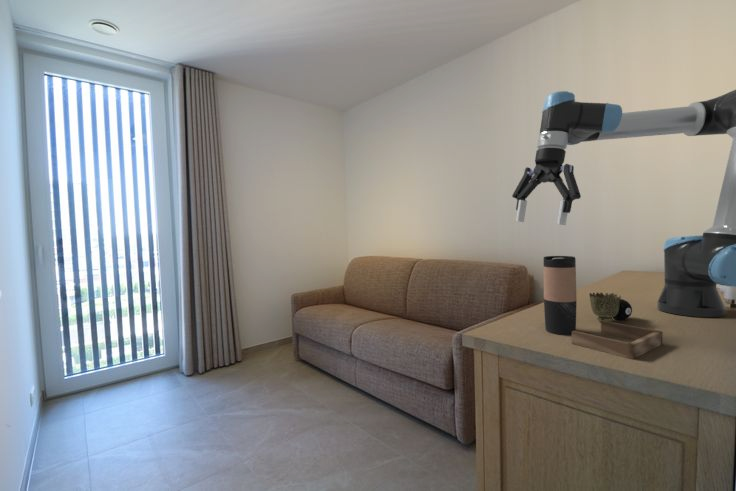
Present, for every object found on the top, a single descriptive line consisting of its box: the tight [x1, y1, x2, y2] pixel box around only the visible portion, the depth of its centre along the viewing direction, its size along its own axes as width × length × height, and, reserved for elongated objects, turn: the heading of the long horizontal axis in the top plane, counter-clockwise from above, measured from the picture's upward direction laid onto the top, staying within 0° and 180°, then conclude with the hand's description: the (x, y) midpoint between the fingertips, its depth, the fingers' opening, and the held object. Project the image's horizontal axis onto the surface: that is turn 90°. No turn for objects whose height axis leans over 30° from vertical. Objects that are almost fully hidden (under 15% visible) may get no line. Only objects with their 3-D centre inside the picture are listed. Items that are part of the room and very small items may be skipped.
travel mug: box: [543, 255, 578, 336], centre depth 92 cm, size 8×8×20 cm
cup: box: [588, 292, 622, 323], centre depth 99 cm, size 8×7×8 cm
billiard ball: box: [612, 298, 633, 321], centre depth 101 cm, size 6×6×6 cm
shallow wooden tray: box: [571, 321, 663, 360], centre depth 81 cm, size 15×12×3 cm
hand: (539, 223), depth 100 cm, fingers open, 13 cm apart
